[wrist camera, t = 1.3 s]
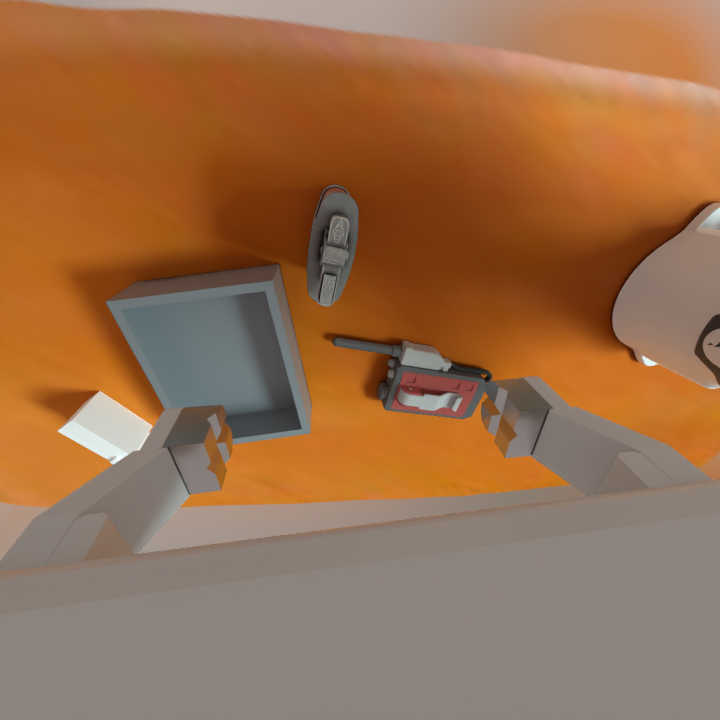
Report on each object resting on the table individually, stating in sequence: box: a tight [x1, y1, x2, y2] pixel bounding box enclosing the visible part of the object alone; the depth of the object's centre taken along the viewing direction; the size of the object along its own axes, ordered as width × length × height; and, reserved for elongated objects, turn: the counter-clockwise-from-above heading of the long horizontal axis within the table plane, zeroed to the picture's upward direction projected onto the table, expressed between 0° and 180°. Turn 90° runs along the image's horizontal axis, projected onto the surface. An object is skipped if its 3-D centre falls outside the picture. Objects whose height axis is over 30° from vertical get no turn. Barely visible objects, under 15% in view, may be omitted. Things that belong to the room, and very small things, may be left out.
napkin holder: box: [58, 391, 152, 464], centre depth 38 cm, size 15×11×6 cm
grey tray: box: [106, 264, 312, 444], centre depth 33 cm, size 14×18×5 cm
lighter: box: [307, 184, 359, 306], centre depth 26 cm, size 8×3×10 cm, turn 166°
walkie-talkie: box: [332, 337, 492, 419], centre depth 38 cm, size 9×4×20 cm
